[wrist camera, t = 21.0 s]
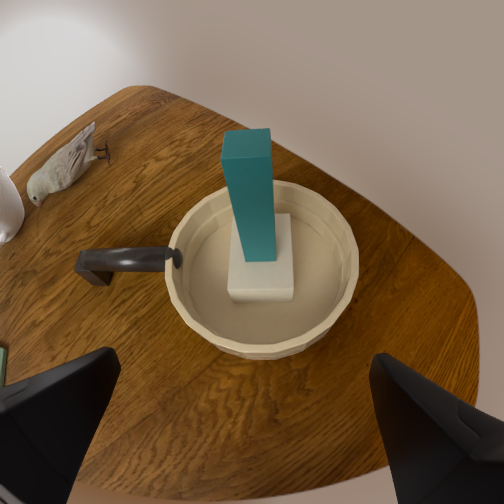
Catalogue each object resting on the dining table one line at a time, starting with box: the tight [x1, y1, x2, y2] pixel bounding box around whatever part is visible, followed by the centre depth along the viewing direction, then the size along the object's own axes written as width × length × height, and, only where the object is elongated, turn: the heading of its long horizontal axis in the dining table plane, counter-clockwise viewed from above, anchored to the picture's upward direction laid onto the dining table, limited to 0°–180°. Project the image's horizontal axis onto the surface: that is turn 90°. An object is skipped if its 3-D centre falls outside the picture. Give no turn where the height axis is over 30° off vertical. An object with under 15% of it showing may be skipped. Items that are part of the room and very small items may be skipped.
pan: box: [165, 180, 359, 360], centre depth 23 cm, size 15×15×4 cm
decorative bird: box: [27, 122, 111, 208], centre depth 32 cm, size 5×16×8 cm, turn 121°
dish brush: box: [221, 128, 294, 303], centre depth 19 cm, size 7×5×14 cm
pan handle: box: [74, 246, 183, 286], centre depth 24 cm, size 2×12×5 cm, turn 88°
